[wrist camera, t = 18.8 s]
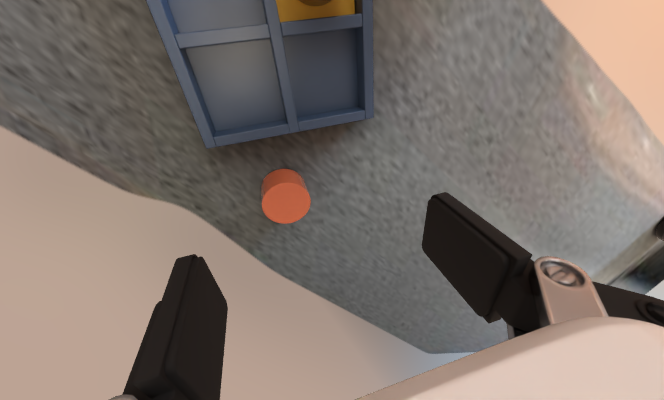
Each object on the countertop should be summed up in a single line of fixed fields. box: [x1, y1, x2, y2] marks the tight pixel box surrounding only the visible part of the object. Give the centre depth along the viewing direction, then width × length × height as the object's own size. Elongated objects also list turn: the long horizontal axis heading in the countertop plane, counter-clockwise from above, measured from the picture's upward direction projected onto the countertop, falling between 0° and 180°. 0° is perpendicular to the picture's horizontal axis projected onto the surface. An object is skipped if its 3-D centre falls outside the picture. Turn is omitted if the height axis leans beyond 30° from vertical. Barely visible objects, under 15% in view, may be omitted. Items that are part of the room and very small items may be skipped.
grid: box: [146, 0, 374, 149], centre depth 17 cm, size 14×14×2 cm
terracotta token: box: [261, 169, 311, 223], centre depth 24 cm, size 4×4×3 cm
